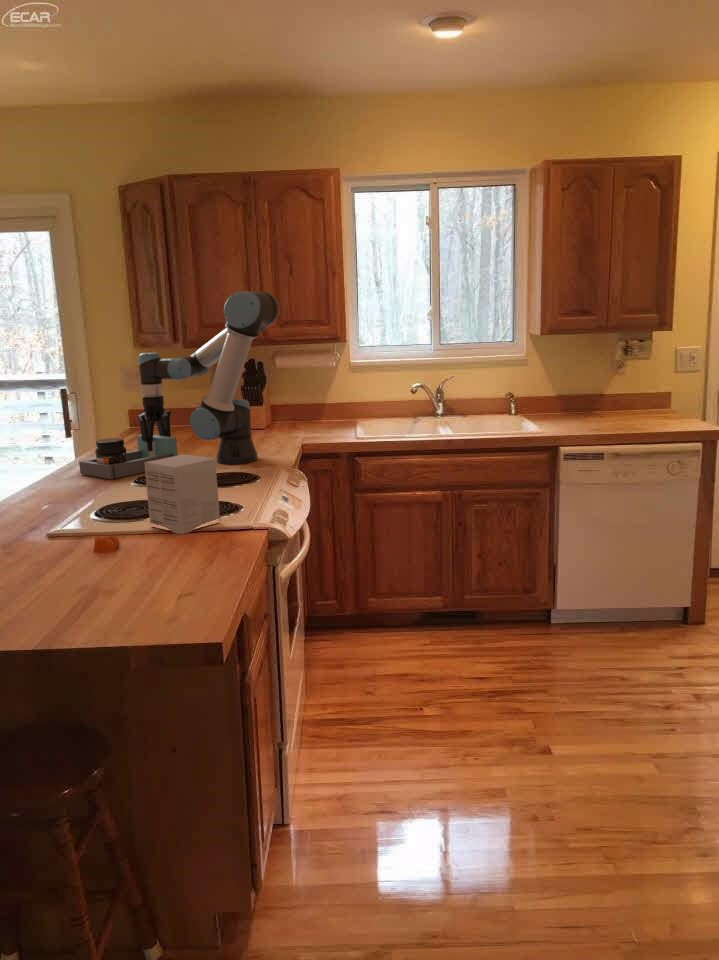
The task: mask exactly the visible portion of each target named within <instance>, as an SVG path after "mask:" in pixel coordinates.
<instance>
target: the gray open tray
mask: <svg viewBox="0 0 719 960" xmlns="http://www.w3.org/2000/svg"><path fill="white" fill-rule="evenodd" d="M136 440H137V449H136V450H132V451H126V454H127V462H122V463H117V464H112V465H109V464H103V463H97V462H96V457H94V458H89V459H85V460H81V461H80V460H79V461H78V464H79V466H78V467H79V472H80V473H79V474H80V475H84V476H91V477H96V478H101V479H108V480H114V479H120V478H124V477H128V476H132V475H137V474H141V473H145V464H144V462H149V461H154V460H159V459H164V458H169V457H173V456H178V455H179V454H178V453H179V452H178V444H177V443H178V442H177V437H176V436H175V437H174V436H171V437H167V436H160V435H159V434H158V435H156V434H153V442H155V452H156V456H152V457H150V454H149V451H148V448H147V442H145V441H142V437H141V434H138V435H136Z"/></svg>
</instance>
